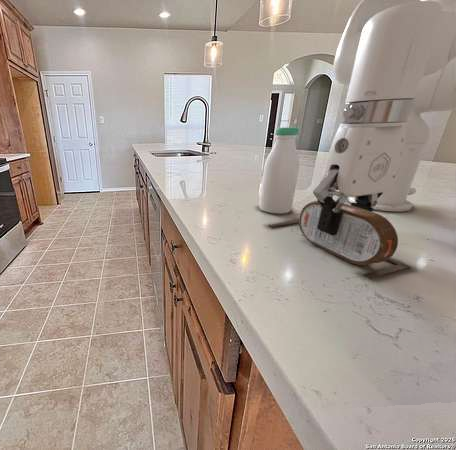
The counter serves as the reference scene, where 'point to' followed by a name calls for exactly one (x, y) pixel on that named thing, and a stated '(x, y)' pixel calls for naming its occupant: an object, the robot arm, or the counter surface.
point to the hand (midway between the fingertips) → (341, 228)
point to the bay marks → (370, 275)
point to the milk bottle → (280, 173)
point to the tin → (352, 234)
